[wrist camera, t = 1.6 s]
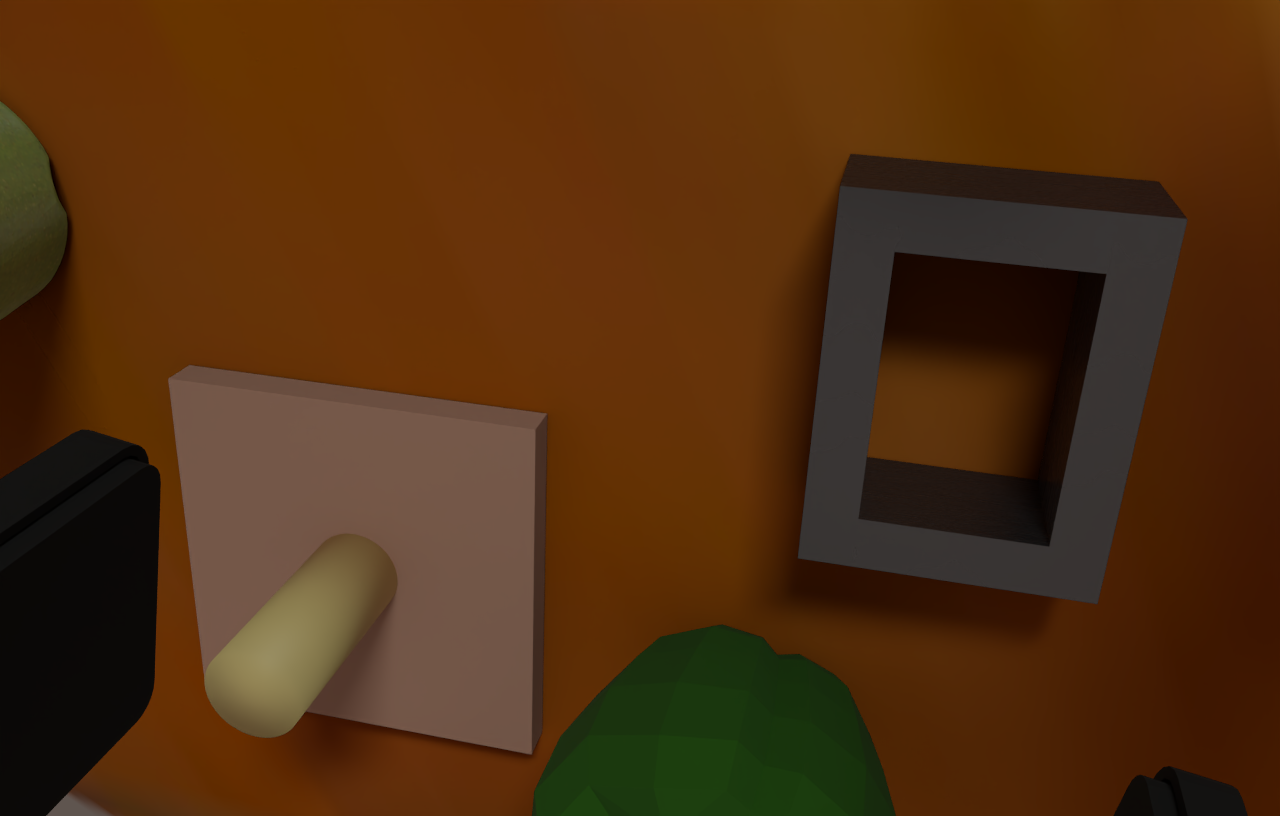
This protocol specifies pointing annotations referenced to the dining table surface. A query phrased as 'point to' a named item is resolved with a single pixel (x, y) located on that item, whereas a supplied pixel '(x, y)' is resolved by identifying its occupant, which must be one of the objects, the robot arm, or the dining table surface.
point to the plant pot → (26, 215)
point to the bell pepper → (716, 738)
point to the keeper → (364, 556)
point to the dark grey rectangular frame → (1085, 394)
